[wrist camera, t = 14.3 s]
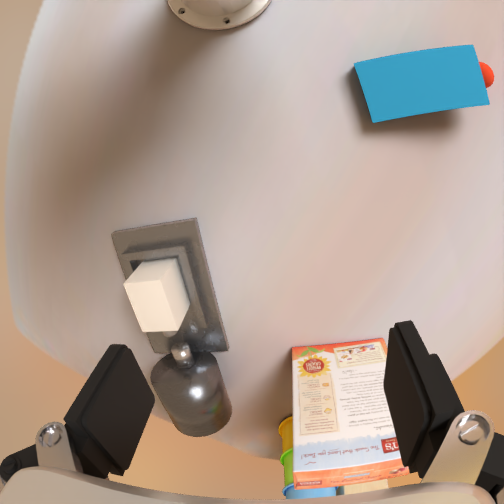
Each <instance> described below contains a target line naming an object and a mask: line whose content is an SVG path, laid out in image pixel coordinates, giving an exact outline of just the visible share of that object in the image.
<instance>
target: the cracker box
mask: <svg viewBox="0 0 504 504" xmlns="http://www.w3.org/2000/svg"><path fill="white" fill-rule="evenodd" d="M386 358H387V346H386V344H385V341H384V339H383V338H378V339H371V340H363V341H355V342H346V343H337V344H326V345H316V346H303V347H292V397H293V469H292V472H293V482H294V489H295V490H300V489H315V488H327V487H336V486H345V485H352V484H359V483H366V482H371V481H377V480H383V479H388V478H393V477H397V476H403V475H407V474H409V473H410V472H409V468H408V466H407V467H404V466H403V464H402V460H401V455H400V451H399V447H398V443H397V438H396V434H395V430H394V426H393V422H392V419H391V415H390V411H389V407H388V403H387V400H386V396H385V393H384V387H383V381H384V374H385V366H386Z"/></svg>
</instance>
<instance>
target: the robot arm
mask: <svg viewBox="0 0 504 504" xmlns="http://www.w3.org/2000/svg"><path fill="white" fill-rule="evenodd" d="M270 2H271V0H168V4H169V6H170V7H171V9H172V11H173V12H174V13H175V14H176V15H177V16H178V17H179V18H180V19H181V20H183V21H184V22H186V23H188V24H189V25H191V26H194V27H197V28H201V29H208V30H223V29H229V28H233V27H236V26H240V25H242V24H244V23H247V22H249V21H251V20H252V19H254V18H255V17H257V16H258V15H259V14H261V13H262V12H263V11H264V10H265V9H266V8H267V6H268V5H269V3H270ZM183 12H185V13H183ZM182 13H183V14H182ZM227 21H230V23H228V24H226V22H227ZM383 387H384V393H385V396H386V400H387V403H388V407H389V411H390V415H391V419H392V422H393V426H394V430H395V434H396V438H397V443H398V447H399V451H400V455H401V460H402V464H403V466H404V467H407V466H408V468H409V472H410V473H414V472H418V475H419V477H420V478H422V481H421V482H420V483H419V484H412V485H405V486H400V487H393V488H387V489H381V490H375V491H369V492H362V493H355V494H347V495H338V496H329V497H318V498H305V499H283V500H248V499H224V498H211V497H200V496H191V495H183V494H176V493H169V492H162V491H157V490H151V489H145V488H140V487H135V486H130V485H126V484H122V483H117V482H113V481H109V478H108V473H109V472H110V473H111V474H115V475H120V476H123V474H124V472H125V470H127V469H128V468H129V466H130V464H131V461H132V458H133V456H134V453H135V451H136V448H137V445H138V443H139V440H140V438H141V436H142V433H143V430H144V428H145V425H146V423H147V420H148V418H149V416H150V413H151V411H152V408H153V406H154V403H155V398H154V394H153V393H152V391H151V389H150V387H149V385H148V383H147V381H146V379H145V377H144V375H143V373H142V371H141V369H140V367H139V365H138V363H137V361H136V359H135V357H134V355H133V353H132V351H131V349H129V348H128V347H127V346H126V345H124V344H112V345H110V346H109V348H108V349H107V351H106V352H105V354H104V355H103V357H102V358H101V360H100V361H99V363H98V364H97V366H96V367H95V369H94V370H93V372H92V374H91V375H90V377H89V378H88V380H87V382H86V383H85V385H84V386H83V388H82V389H81V391H80V393H79V394H78V396H77V397H76V399H75V401H74V402H73V404H72V406H71V407H70V409H69V411H68V412H67V414H66V416H65V417H64V421H65V422H66V424H65V425H63V424H62V423H59V422H51V423H48V424H46V425H44V426H43V427H42V428H41V429H40V430H39V431H38V433H37V435H36V444H34V445H32V446H30V447H28V448H25V449H23V450H21V451H18V452H16V453H14V454H11V455H9V456H8V457H6V458H5V459H4V460H3V461H2V463H1V465H0V504H504V436H503V435H501V434H498V433H495V432H494V430H495V429H494V424H493V422H492V420H491V418H490V417H489V416H487V415H486V414H485V413H483V412H480V411H475V410H471V411H466V412H465V411H464V409H463V406H462V404H461V402H460V400H459V398H458V395H457V393H456V391H455V389H454V387H453V385H452V383H451V381H450V378H449V376H448V374H447V372H446V370H445V368H444V366H443V364H442V362H441V360H440V358H439V357H438V355H437V354H430V355H429V353H428V351H427V349H426V347H425V345H424V343H423V341H422V339H421V337H420V335H419V333H418V331H417V329H416V327H415V326H414V324H413V322H412V321H411V320H410V321H404V322H398V323H395V325H394V328H390V330H389V340H388V349H387V358H386V366H385V374H384V381H383Z"/></svg>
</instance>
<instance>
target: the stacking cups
mask: <svg viewBox="0 0 504 504" xmlns="http://www.w3.org/2000/svg"><path fill="white" fill-rule="evenodd" d="M278 432H279V434H280V436H281V437H282V448H283V454H282V455H281V457H280V462H281V464H282V465H283V466H284V474H285V475H284V477H285V487H284V489H283V491H282V492H283V494H284V495H285V496H286V499H305V498H318V497H329V496H336V490H337V489H338V487H339V486H336V487H327V488H315V489H300V490H295V489H294V482H293V472H292V469H293V416H290V417H288V418H287V419H285V420H284V421H283V422H282V423H281V424H280V425H279V429H278Z"/></svg>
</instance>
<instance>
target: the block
mask: <svg viewBox="0 0 504 504" xmlns="http://www.w3.org/2000/svg"><path fill="white" fill-rule="evenodd" d="M124 287H125V290H126V292H127V295H128V297H129V300H130V303H131V305H132V308H133V310H134V313H135V315H136V318H137V320H138V322H139V325H140V327H141V330H142V332H158V331H162V332H163V334H164V336H166V337H170V336H173V335H175V334H176V333H177V332H178V330H179V328H180V326H181V323H182V321H183V319H184V317H185V315H186V313H187V310H188V308H189V306H190V301H189V298H188V295H187V292H186V288H185V285H184V282H183V278H182V275H181V272H180V268H179V265H178V261H177V258H176V257H175V258H168V259H161V260H153V261H146V262H142V263H141V264H140V265H139V266H138V267H137V269H136V270H135V271H134V272H133V273H132V274H131V276H130V277H129V278H128V279H127V280H126V281H125V282H124Z"/></svg>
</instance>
